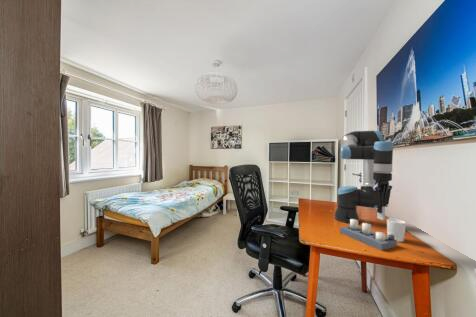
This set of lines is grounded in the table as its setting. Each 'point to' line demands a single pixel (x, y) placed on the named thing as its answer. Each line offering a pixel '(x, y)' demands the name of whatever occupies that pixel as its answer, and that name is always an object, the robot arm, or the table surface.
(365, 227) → the white oval solid
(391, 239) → the grey egg holder
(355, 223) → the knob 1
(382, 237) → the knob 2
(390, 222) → the white cup
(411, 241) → the table surface
